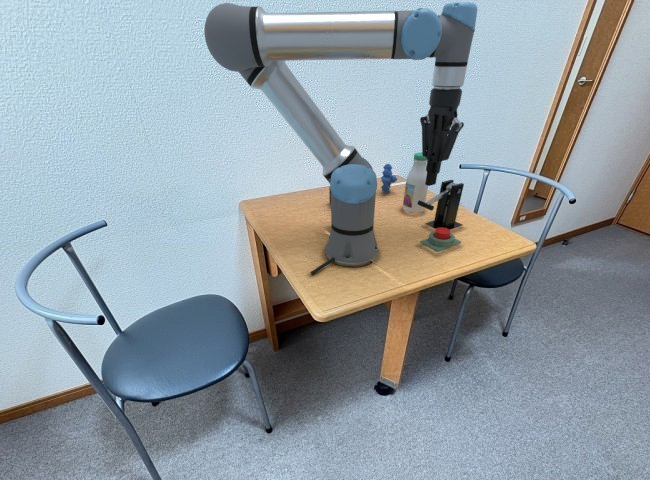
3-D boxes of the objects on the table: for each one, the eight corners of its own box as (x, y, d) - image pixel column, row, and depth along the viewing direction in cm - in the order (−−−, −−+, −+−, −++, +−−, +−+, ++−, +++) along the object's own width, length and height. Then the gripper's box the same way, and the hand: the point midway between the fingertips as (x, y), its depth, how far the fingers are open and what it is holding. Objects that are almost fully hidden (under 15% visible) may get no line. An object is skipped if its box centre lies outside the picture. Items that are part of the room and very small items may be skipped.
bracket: (442, 235, 104) (451, 189, 95) (423, 226, 109) (431, 182, 100) (462, 228, 108) (474, 183, 99) (444, 220, 114) (453, 176, 105)
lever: (430, 213, 97) (430, 206, 95) (417, 207, 101) (417, 200, 99) (461, 192, 100) (462, 185, 99) (447, 187, 104) (447, 180, 102)
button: (442, 241, 94) (443, 235, 93) (430, 236, 97) (432, 229, 96) (452, 237, 96) (454, 231, 95) (441, 232, 99) (442, 226, 98)
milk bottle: (422, 208, 122) (431, 151, 110) (424, 216, 116) (435, 157, 104) (401, 207, 123) (408, 150, 111) (402, 215, 117) (410, 156, 105)
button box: (437, 255, 94) (439, 245, 92) (419, 245, 99) (420, 235, 97) (460, 246, 98) (463, 236, 96) (441, 237, 103) (444, 227, 101)
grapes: (394, 198, 130) (397, 167, 123) (377, 197, 131) (379, 166, 124) (397, 189, 139) (400, 159, 131) (381, 188, 140) (384, 158, 133)
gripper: (479, 88, 77) (456, 188, 92) (437, 85, 86) (423, 176, 100) (457, 90, 74) (438, 193, 88) (416, 86, 83) (405, 180, 97)
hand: (430, 184), depth 94 cm, fingers closed
